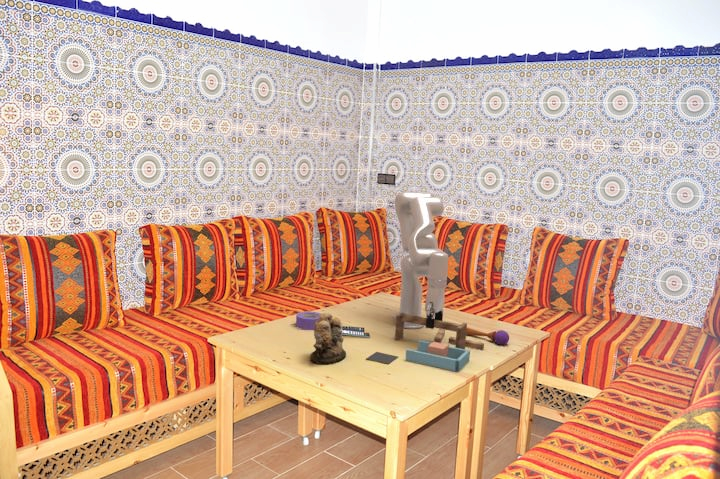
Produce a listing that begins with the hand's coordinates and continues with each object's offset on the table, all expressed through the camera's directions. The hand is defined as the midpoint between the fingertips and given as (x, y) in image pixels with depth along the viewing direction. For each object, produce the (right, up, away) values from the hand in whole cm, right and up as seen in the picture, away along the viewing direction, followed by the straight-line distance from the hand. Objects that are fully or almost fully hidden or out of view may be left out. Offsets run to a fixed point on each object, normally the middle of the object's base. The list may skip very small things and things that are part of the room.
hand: (434, 325), depth 230 cm
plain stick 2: (+13, -9, +4) cm, 17 cm away
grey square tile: (-21, -10, -16) cm, 28 cm away
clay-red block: (-1, -11, -15) cm, 19 cm away
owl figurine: (-41, -10, -18) cm, 46 cm away
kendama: (+23, -8, +13) cm, 28 cm away
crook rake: (-2, -8, +2) cm, 9 cm away
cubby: (-1, -11, -15) cm, 19 cm away
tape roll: (-51, -4, +19) cm, 55 cm away
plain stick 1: (+4, -8, +11) cm, 14 cm away
